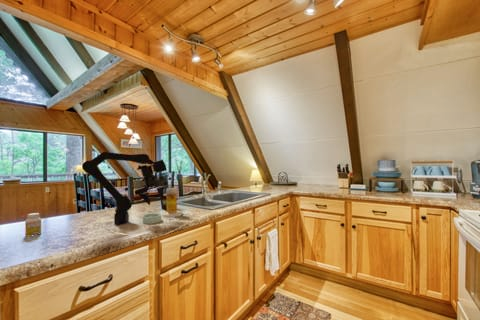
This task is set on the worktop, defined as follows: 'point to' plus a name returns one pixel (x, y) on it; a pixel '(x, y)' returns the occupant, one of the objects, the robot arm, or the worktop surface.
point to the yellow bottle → (171, 200)
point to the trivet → (171, 214)
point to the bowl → (151, 218)
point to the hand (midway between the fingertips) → (156, 201)
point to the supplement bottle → (33, 224)
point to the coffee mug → (164, 202)
